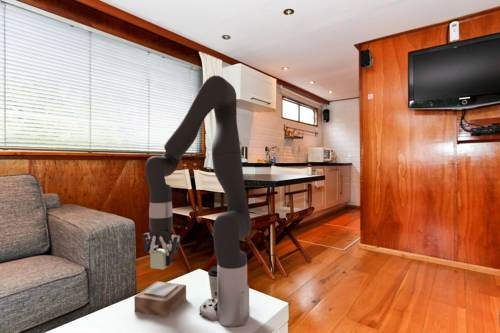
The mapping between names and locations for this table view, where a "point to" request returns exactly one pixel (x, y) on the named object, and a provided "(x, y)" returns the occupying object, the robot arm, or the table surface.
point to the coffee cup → (213, 282)
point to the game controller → (209, 309)
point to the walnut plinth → (160, 298)
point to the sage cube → (158, 259)
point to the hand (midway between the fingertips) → (161, 264)
